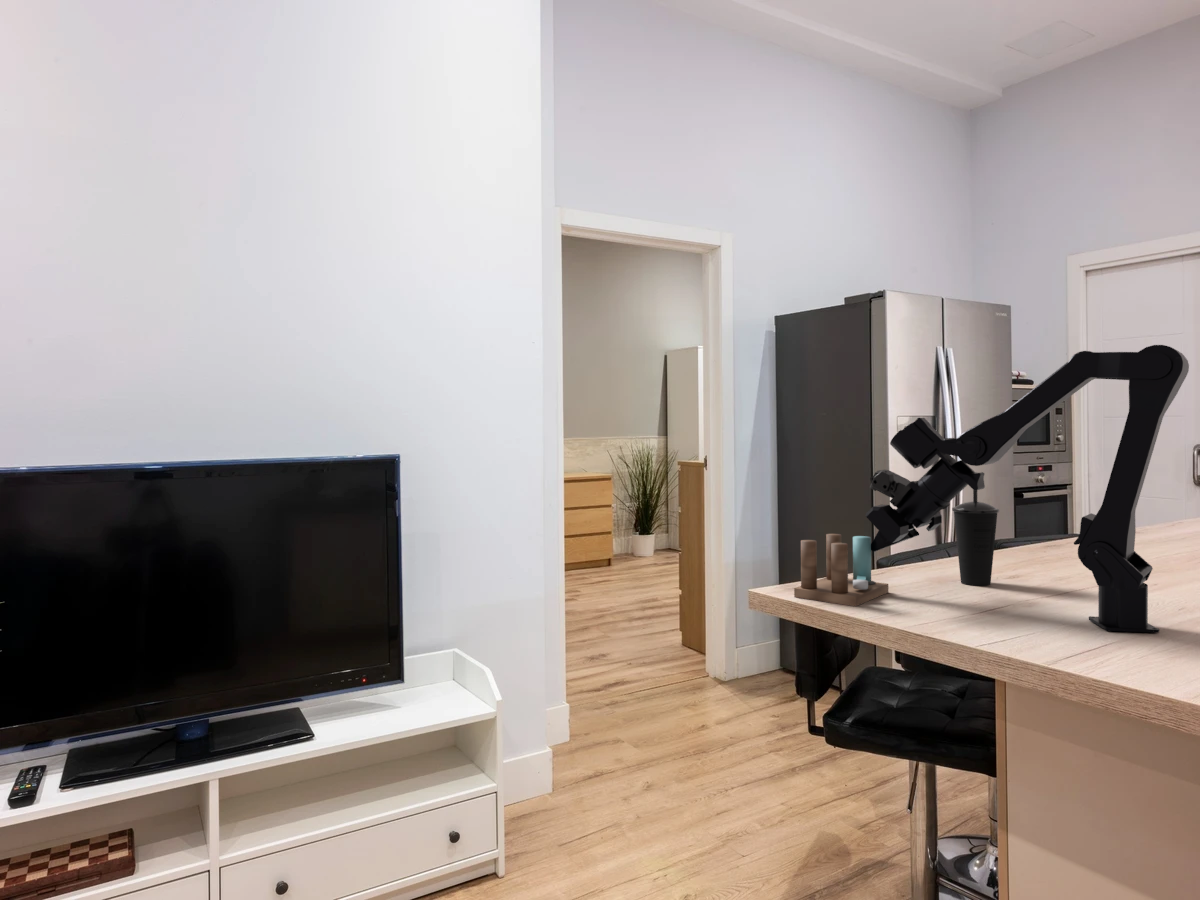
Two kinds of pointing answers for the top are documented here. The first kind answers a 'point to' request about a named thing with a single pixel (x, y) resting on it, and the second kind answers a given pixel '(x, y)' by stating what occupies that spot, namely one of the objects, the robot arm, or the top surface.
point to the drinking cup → (975, 540)
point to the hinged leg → (861, 562)
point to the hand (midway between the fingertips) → (871, 549)
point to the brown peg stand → (832, 576)
